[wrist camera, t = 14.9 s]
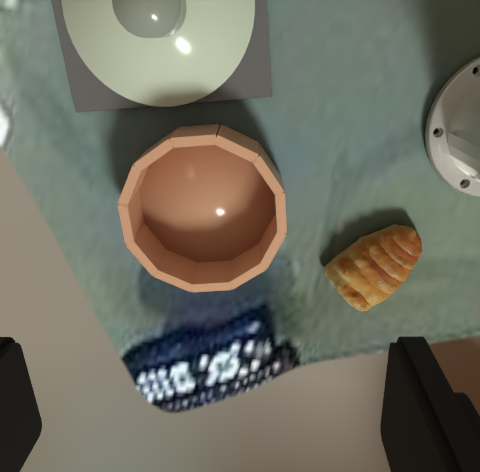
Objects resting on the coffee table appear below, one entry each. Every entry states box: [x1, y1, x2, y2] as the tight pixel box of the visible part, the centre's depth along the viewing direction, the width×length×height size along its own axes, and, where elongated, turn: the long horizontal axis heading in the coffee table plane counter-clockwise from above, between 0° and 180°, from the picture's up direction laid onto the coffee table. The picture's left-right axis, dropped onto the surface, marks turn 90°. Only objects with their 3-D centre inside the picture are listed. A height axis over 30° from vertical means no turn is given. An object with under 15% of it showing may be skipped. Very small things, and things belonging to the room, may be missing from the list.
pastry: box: [324, 225, 422, 311], centre depth 44 cm, size 9×7×4 cm
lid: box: [61, 0, 255, 107], centre depth 34 cm, size 15×15×6 cm
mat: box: [52, 0, 272, 112], centre depth 37 cm, size 17×15×1 cm
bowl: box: [118, 124, 287, 292], centre depth 41 cm, size 14×14×5 cm
